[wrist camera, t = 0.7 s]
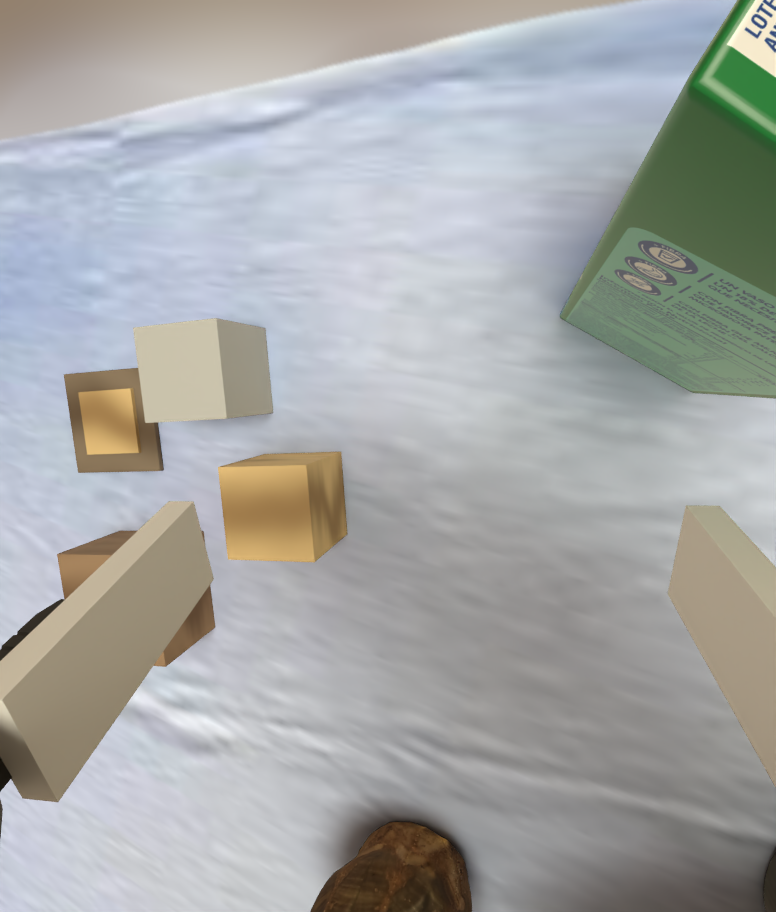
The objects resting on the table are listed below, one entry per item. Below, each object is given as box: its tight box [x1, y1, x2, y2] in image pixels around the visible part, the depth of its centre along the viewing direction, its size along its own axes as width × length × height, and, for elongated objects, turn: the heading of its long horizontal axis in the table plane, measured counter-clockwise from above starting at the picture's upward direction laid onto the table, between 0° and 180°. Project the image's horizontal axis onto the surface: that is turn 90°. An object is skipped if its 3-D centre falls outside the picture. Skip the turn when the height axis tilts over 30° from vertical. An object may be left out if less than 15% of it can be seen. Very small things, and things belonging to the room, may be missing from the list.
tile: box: [64, 368, 163, 473], centre depth 40 cm, size 8×8×1 cm
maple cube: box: [218, 452, 347, 562], centre depth 34 cm, size 6×6×6 cm
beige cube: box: [133, 318, 273, 423], centre depth 34 cm, size 6×6×6 cm
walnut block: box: [57, 531, 215, 667], centre depth 38 cm, size 8×8×6 cm
